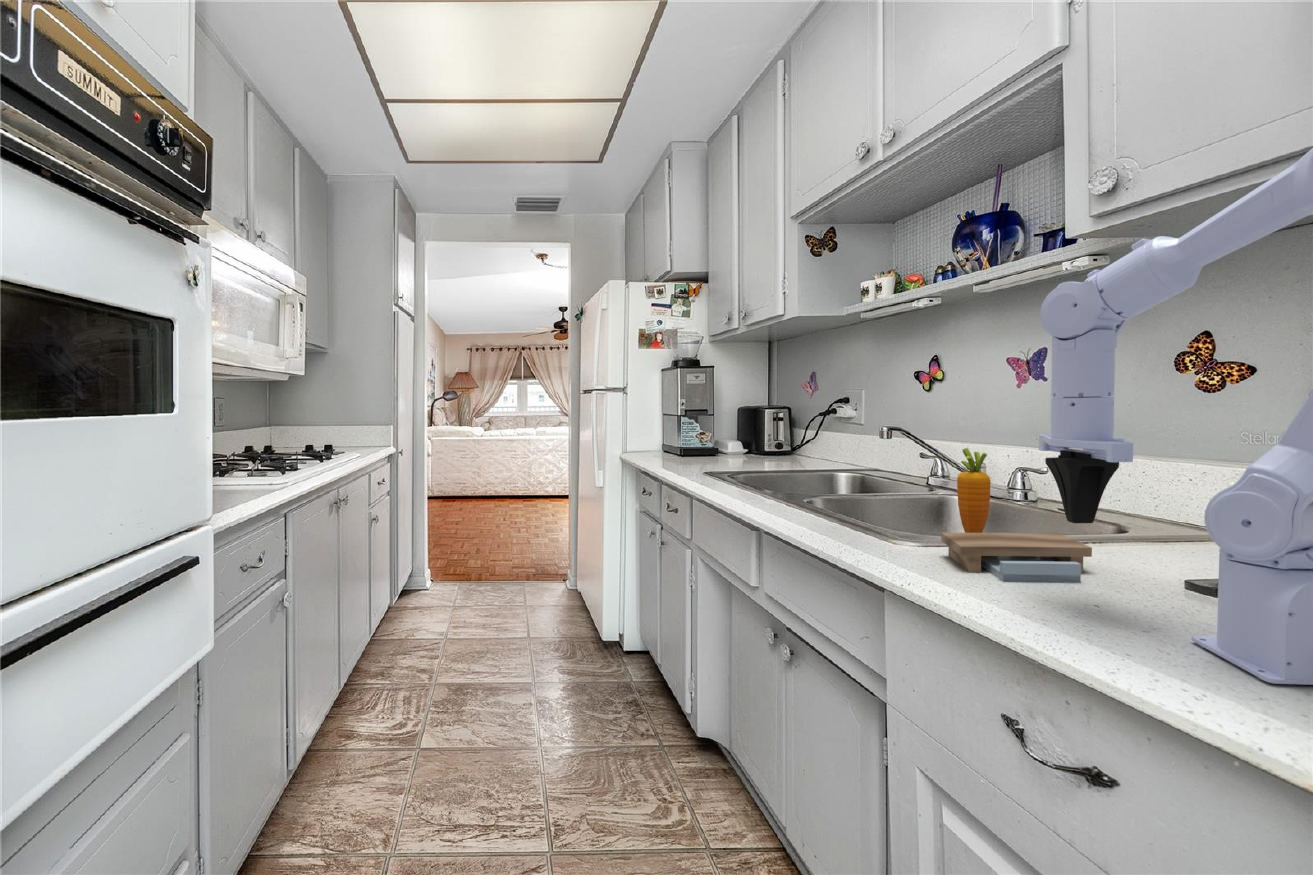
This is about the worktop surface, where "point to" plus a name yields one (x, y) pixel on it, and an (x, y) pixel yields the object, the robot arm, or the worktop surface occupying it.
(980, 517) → the carrot
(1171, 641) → the worktop surface
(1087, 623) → the worktop surface
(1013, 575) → the light blue lipped plate
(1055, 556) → the bench
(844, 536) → the worktop surface
